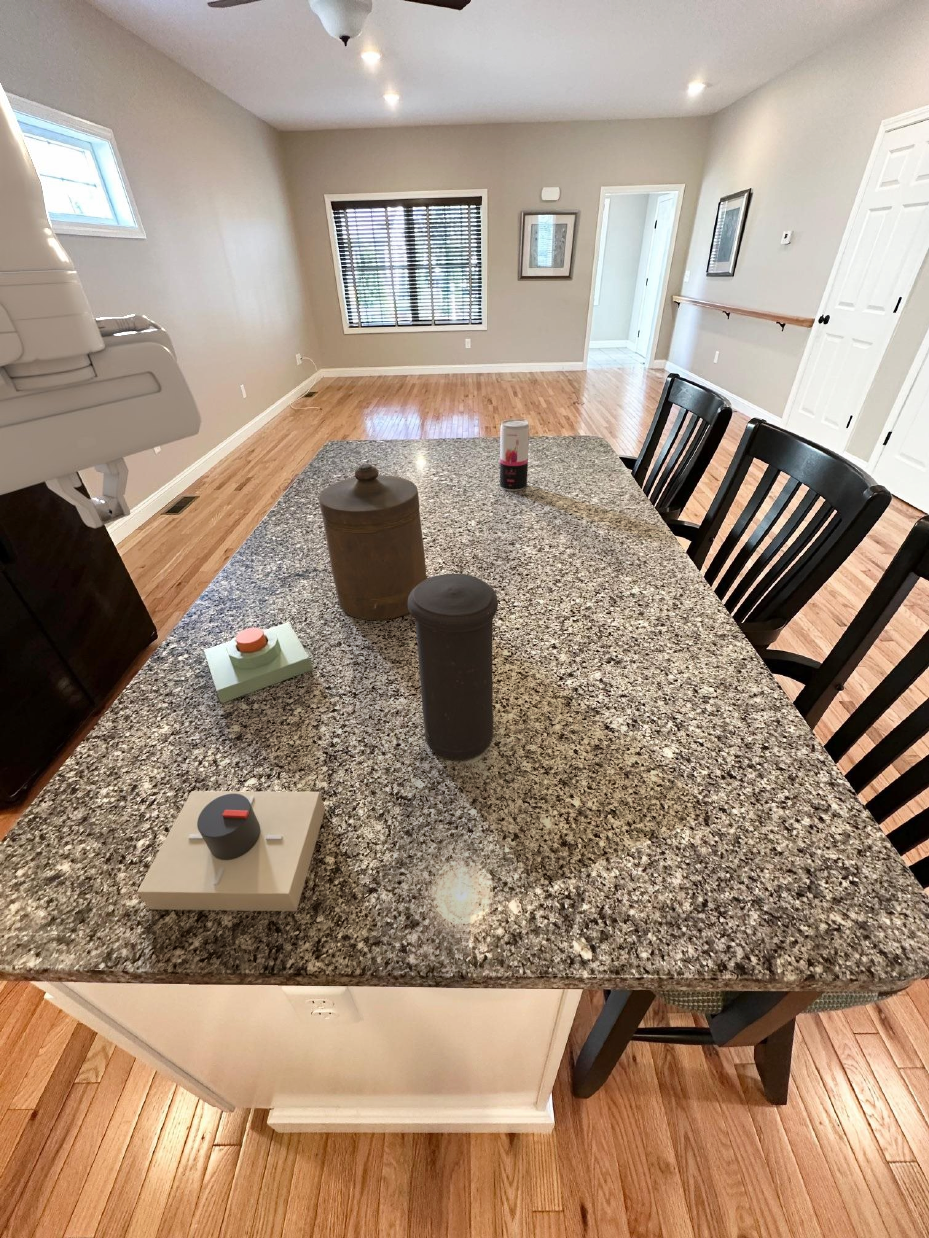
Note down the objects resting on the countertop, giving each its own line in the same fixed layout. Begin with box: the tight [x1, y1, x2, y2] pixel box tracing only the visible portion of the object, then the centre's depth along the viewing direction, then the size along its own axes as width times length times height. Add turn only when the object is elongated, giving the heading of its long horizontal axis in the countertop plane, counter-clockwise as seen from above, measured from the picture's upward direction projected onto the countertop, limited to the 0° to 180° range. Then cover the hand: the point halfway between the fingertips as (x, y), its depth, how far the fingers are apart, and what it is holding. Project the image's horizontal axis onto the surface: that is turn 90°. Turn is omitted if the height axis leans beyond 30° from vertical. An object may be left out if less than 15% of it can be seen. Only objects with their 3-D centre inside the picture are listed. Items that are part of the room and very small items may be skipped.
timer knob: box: [197, 793, 260, 860], centre depth 46 cm, size 4×4×4 cm
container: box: [408, 573, 499, 762], centre depth 55 cm, size 9×9×20 cm
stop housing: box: [203, 621, 313, 704], centre depth 71 cm, size 12×10×4 cm
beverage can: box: [499, 418, 530, 492], centre depth 121 cm, size 6×6×15 cm
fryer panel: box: [136, 790, 326, 912], centre depth 48 cm, size 13×10×3 cm
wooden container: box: [318, 463, 428, 621], centre depth 79 cm, size 15×15×22 cm
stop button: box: [234, 627, 267, 653], centre depth 69 cm, size 4×4×2 cm
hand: (109, 520), depth 42 cm, fingers closed
